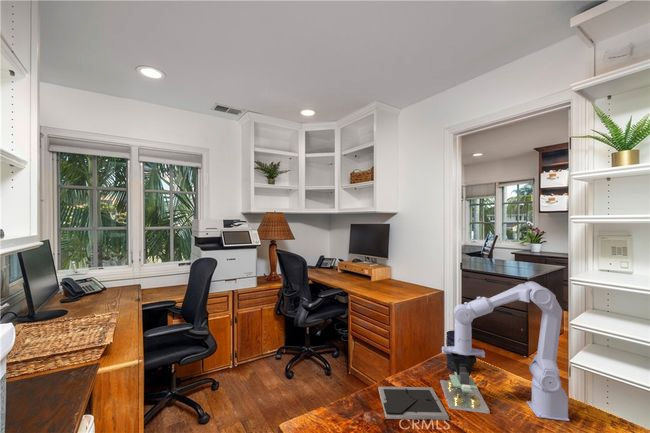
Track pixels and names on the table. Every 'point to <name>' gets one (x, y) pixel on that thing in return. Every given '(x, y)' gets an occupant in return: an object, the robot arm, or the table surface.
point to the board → (456, 383)
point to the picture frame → (411, 403)
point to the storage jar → (450, 363)
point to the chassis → (463, 398)
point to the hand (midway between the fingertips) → (462, 373)
